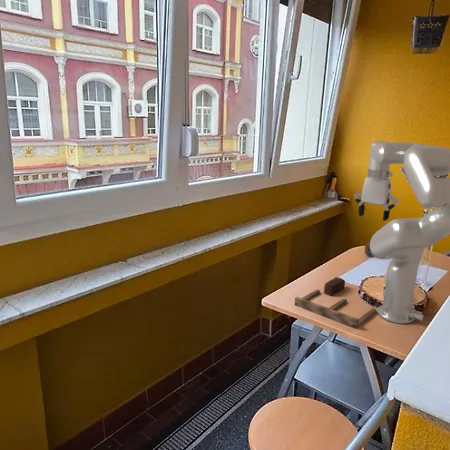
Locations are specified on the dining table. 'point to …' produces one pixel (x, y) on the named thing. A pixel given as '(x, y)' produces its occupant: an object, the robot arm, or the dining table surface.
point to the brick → (334, 286)
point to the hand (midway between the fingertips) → (373, 217)
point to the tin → (368, 249)
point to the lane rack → (332, 310)
